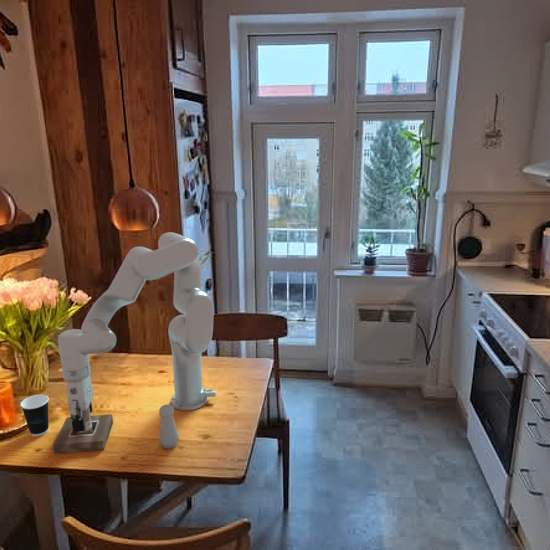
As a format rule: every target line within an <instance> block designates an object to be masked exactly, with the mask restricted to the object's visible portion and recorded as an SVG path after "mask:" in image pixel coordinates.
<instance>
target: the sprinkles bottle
mask: <svg viewBox="0 0 550 550" xmlns="http://www.w3.org/2000/svg"><path fill="white" fill-rule="evenodd" d="M77 409H80V408H79V407H77ZM76 415H79V412H76ZM91 416H92V414H91V413H90V408H89V407H88V409H87V410H86V411H82V418H83V420H84V427H85V430H84V431H78V432H77V435H87V434H93V432H94V431H93V430H92V421H91Z"/></svg>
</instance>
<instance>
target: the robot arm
mask: <svg viewBox="0 0 550 550" xmlns="http://www.w3.org/2000/svg"><path fill="white" fill-rule="evenodd" d="M157 246H158V249H154V250H152V249H150V248H147V247H144V246H135V247H133V248H131V249H130V250H129V251H128V252H127V254H126V256H125V258H124V260H123V261H122V263H121V265H120V267H119V269H118V271H117V273H116V274H115V277H114V278H113V280H112V281H111V283H110V285H109V287H108V289H107V290H105V291H104V292H103V293H102V294H101V295H100V297H99V298H97V299H96V301H95V302H94V303H93V304H92V306H91V307H90V309H89V311H88V313H87V314H86V315H85V318H84V320H83V321H82V325H81V328H79V329H78V328H72V329H71V328H70V329H67V330H64V331H62V332H61V333H60V334H59V335H58V336H57V337H58V338H57V342H58V350H59V357H60V363H61V370H62V378H63V380H64V381H66V395H67V396H66V397H67V403H68V404H67V405H68V409H69V410H68V411H69V415H70V416H69V417H71V421H72V428H73V431H74V432H77V433H78V431H84V430H85V427H84V420H83V418H82V411H86V410H87V409H88V407H89V408H90V414H91V413H92V412H93V405H92V404H93V403H92V400H93V398H94V389H93V383H92V379H91V374H92V373H91V367H90V357H89V356H90V355H94V354H95V355H96V354H104V353H107V352H109V351H111V350H112V349H114V347H116V344H117V336H116V334H115V333H114V331H112V330H111V328H109V327H108V325H109V323H110V321H111V320H112V318H113V316H114V315H115V314H116V312H117V311H118V310H120V309H121V308H122V307H124V306H127V305H131V304H132V303H134V302H136V300H137V298H138V296H139V294H140V293H141V290H142V288H143V287H144V285H145V283H146V281H154V280H159V279H161V278H164V277H167V276H169V275H170V274H173V273H174V276H173V277H174V279H173V299H172V303H173V306H174V308H175V309H176V310H177V311H178V312H179V313H181V314H179V315H177V316H174V318H172V319H171V321H170V322H169V325H168V330H167V331H168V333H167V334H168V338H169V343H170V347H171V356H172V369H173V370H172V371H173V372H172V373H173V383H174V384H173V385H174V394H173V395H172V396H171V398H170V405H172V406H173V407H174V409H176V410H178V411H194V410H198V409H200V408H202V407H203V406H204V405H206V404H207V401H208V398H214V397H217V395H216V390H213V388H206V387H205V386H204V384H203V374H202V371H203V370H202V353H204V352H206V351H207V350H208V349H209V347H210V345H211V343H212V340H213V339H212V338H213V331H214V317H215V315H214V314H215V307H214V302H213V299H212V297H211V296H210V295H209V294H208V293H206V292H205V291H203V290H202V286H201V285H202V284H201V282H202V281H201V279H202V278H201V277H202V275H201V274H202V272H201V271H202V269H201V264H200V260H199V257H198V255H199V247H198V245H197V243H196V242H195V241H194V240H193V239H191V238H189V237H185V236H183V235H182V234H178V233H176V232H172V231H171V232H168V231H167V232H165V233H162V234H161V235H160V237H159V239H158V243H157ZM204 387H205V388H204ZM77 407H79V408H80V409H77ZM76 412H79V415H76Z"/></svg>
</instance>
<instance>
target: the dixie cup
mask: <svg viewBox="0 0 550 550" xmlns="http://www.w3.org/2000/svg"><path fill="white" fill-rule="evenodd" d="M49 400H50V398H49V396H48V395H46V394H35V395H31V396H28V397H26V398H24V399H23V400H22V401H21V402H20V404H19V406H20V407H21V409H22V412H23V415H24V419H25V421H26V425H27V428H28V431H29V433H30V434H31V436H32V437H35V438H36V437H37V438H38V437H42V436H44V435H46V434H47V433H48V432H49V427H50V426H49Z"/></svg>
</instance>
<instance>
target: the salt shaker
mask: <svg viewBox="0 0 550 550" xmlns="http://www.w3.org/2000/svg"><path fill="white" fill-rule="evenodd" d="M174 413H175V408H174V407H173V406H172V405H171V404H163V405H161V406H160V407H159V410H158V414H159V416H160V426H159V435H158V438H159V439H158V442H159V443H160V445H161V446H162V449H165V450H171V449H173V448H176V445H177V443H178V441H179V433H178V429H177V426H176V422H175V419H174Z"/></svg>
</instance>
